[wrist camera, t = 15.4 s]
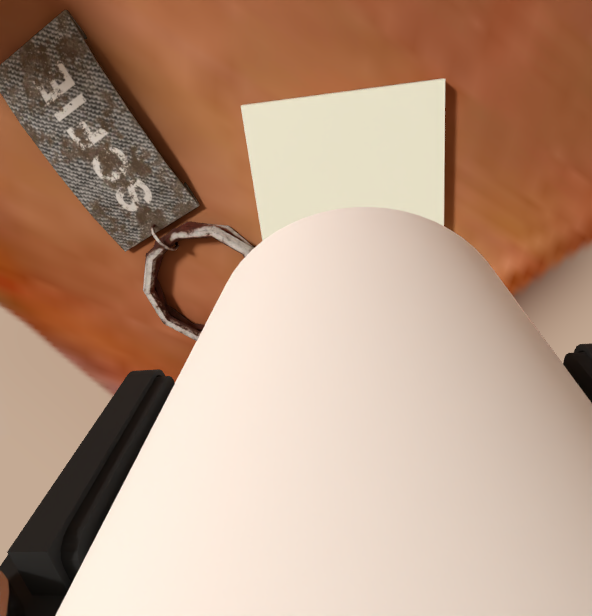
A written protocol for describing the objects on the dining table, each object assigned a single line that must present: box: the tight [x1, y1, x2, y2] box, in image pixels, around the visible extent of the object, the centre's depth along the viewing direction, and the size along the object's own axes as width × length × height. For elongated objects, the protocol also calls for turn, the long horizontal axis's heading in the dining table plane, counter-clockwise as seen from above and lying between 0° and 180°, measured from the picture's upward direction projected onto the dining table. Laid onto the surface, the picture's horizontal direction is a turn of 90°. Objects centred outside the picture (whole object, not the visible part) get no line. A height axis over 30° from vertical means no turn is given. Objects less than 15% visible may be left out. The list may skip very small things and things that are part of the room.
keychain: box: [0, 10, 254, 341], centre depth 27 cm, size 8×19×2 cm, turn 31°
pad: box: [241, 79, 445, 240], centre depth 26 cm, size 10×10×1 cm
